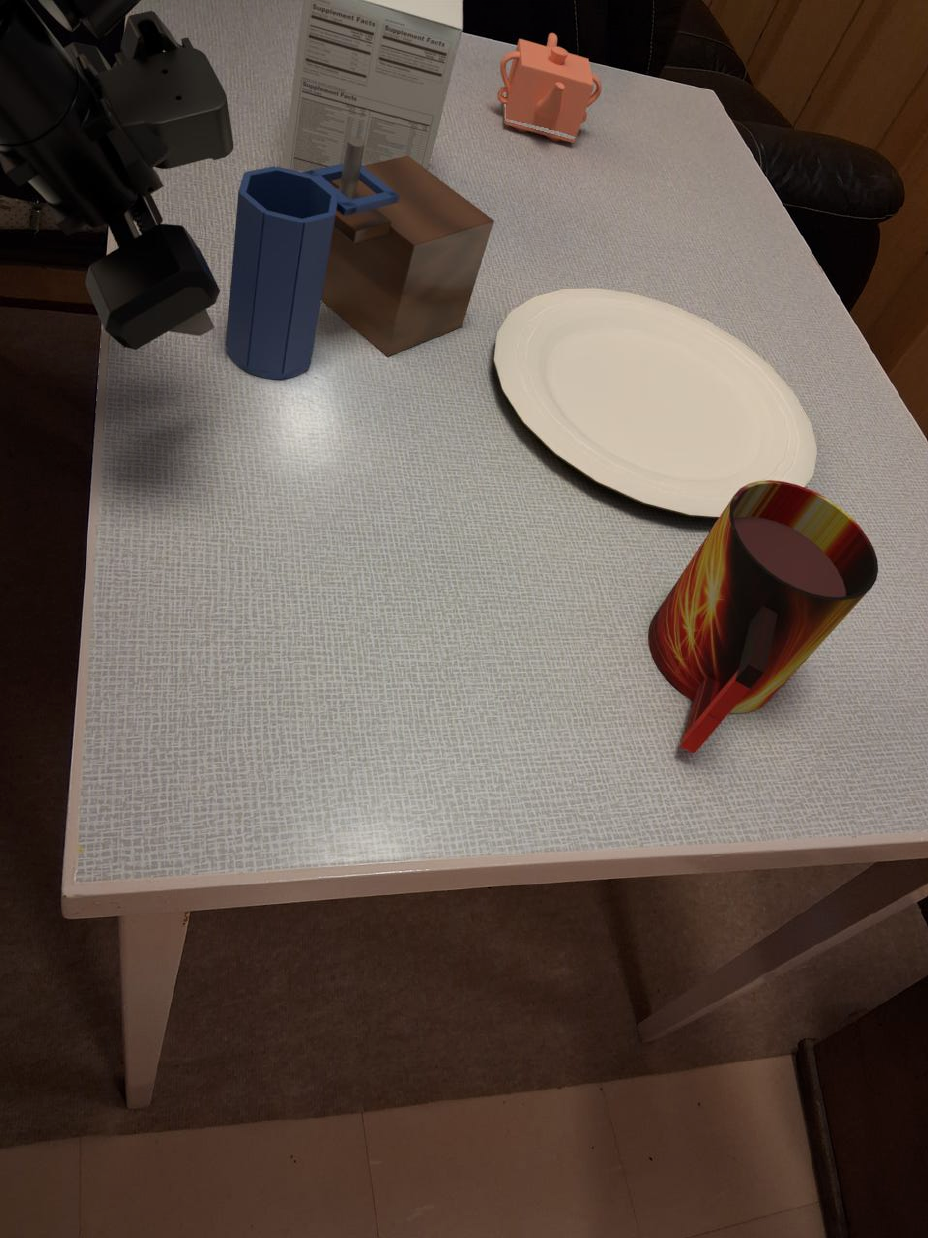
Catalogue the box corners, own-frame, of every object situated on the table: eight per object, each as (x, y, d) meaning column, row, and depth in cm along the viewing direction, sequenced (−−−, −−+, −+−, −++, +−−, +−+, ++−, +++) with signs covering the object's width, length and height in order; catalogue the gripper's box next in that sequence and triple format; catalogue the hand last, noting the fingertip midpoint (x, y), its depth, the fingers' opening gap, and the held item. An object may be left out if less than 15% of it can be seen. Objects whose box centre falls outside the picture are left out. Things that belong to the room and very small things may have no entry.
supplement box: (417, 226, 91) (465, 29, 78) (277, 192, 88) (302, -19, 75) (421, 160, 99) (464, -29, 86) (293, 126, 97) (318, -74, 83)
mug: (673, 763, 60) (768, 649, 51) (637, 592, 68) (713, 469, 59) (810, 775, 62) (925, 669, 53) (758, 608, 70) (850, 492, 61)
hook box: (354, 370, 75) (394, 182, 64) (273, 299, 78) (296, 107, 66) (462, 326, 83) (515, 151, 71) (384, 263, 86) (423, 85, 74)
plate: (520, 266, 91) (527, 248, 90) (803, 371, 93) (813, 355, 92) (453, 453, 72) (460, 434, 71) (811, 581, 74) (824, 565, 72)
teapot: (579, 109, 118) (604, 37, 111) (589, 168, 108) (617, 93, 102) (486, 83, 115) (506, 7, 109) (488, 141, 106) (510, 62, 100)
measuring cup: (261, 389, 71) (281, 228, 61) (209, 339, 73) (220, 176, 63) (374, 347, 78) (408, 197, 68) (323, 303, 80) (350, 150, 70)
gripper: (237, 144, 44) (347, 322, 58) (103, -112, 49) (234, 110, 64) (31, 268, 44) (191, 413, 59) (-79, 2, 50) (93, 196, 65)
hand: (180, 275), depth 62 cm, fingers open, 9 cm apart
